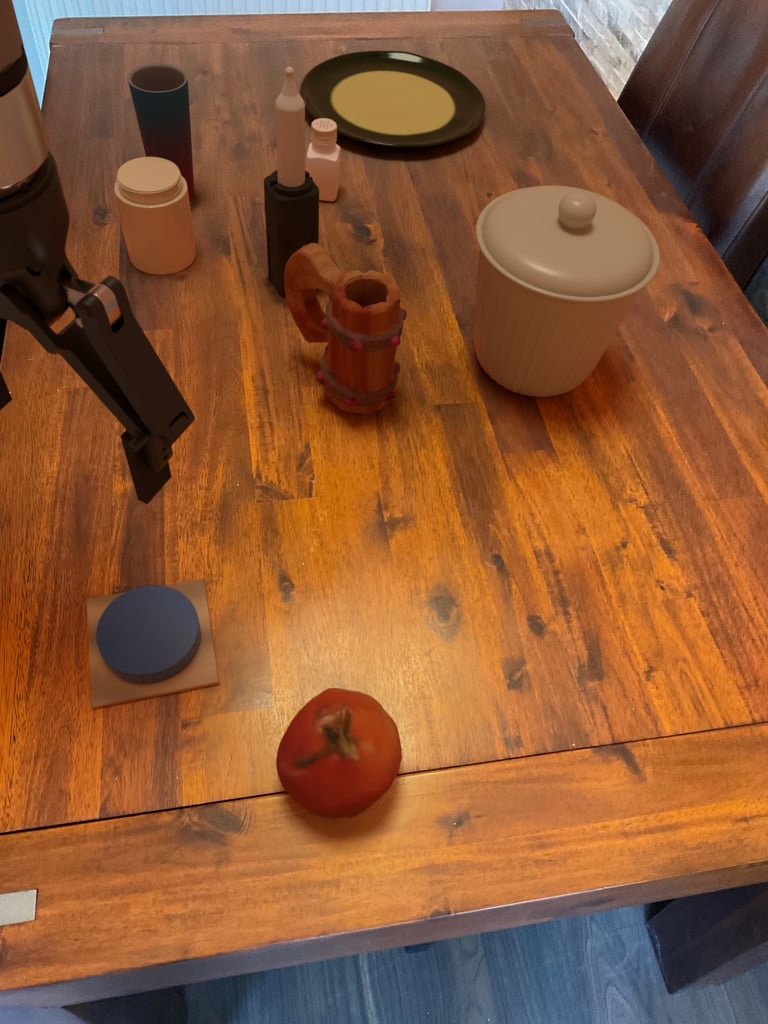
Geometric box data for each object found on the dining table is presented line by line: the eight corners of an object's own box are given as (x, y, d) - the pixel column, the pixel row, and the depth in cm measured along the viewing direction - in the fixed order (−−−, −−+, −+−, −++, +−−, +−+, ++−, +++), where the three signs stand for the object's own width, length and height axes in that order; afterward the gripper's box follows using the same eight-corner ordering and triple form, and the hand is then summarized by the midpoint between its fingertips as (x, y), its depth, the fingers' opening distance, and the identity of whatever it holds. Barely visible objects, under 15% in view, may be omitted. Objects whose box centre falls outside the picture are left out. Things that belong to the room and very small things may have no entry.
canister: (428, 324, 94) (455, 154, 77) (564, 300, 98) (618, 134, 81) (489, 436, 84) (536, 270, 67) (637, 404, 89) (716, 241, 72)
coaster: (87, 601, 69) (86, 598, 69) (204, 581, 71) (204, 578, 71) (92, 709, 64) (91, 706, 63) (219, 684, 66) (218, 681, 65)
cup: (192, 213, 103) (177, 96, 90) (140, 205, 103) (118, 86, 91) (207, 184, 107) (195, 68, 94) (157, 176, 107) (138, 59, 95)
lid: (194, 685, 65) (192, 676, 63) (91, 684, 64) (86, 674, 63) (206, 597, 70) (203, 586, 68) (110, 595, 69) (105, 583, 68)
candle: (265, 274, 97) (254, 58, 76) (303, 264, 98) (303, 50, 78) (281, 299, 94) (274, 84, 74) (321, 289, 96) (325, 75, 76)
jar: (114, 260, 96) (96, 178, 87) (155, 226, 100) (141, 146, 92) (170, 283, 94) (156, 202, 86) (209, 248, 99) (199, 168, 90)
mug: (415, 399, 86) (433, 286, 74) (364, 439, 82) (374, 326, 70) (318, 332, 91) (320, 215, 79) (266, 366, 88) (259, 250, 75)
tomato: (400, 718, 65) (410, 677, 59) (393, 836, 60) (404, 805, 53) (286, 707, 65) (284, 665, 58) (270, 825, 60) (265, 792, 53)
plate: (309, 57, 129) (309, 40, 127) (480, 74, 131) (482, 58, 128) (290, 150, 113) (290, 133, 111) (486, 170, 114) (489, 153, 112)
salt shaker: (339, 187, 109) (342, 118, 101) (335, 203, 106) (338, 134, 99) (310, 183, 109) (310, 114, 101) (305, 200, 106) (305, 130, 99)
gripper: (238, 211, 37) (257, 484, 55) (-163, 51, 42) (-30, 347, 60) (139, 301, 33) (193, 565, 51) (-292, 112, 38) (-109, 412, 56)
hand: (73, 448), depth 55 cm, fingers open, 13 cm apart
